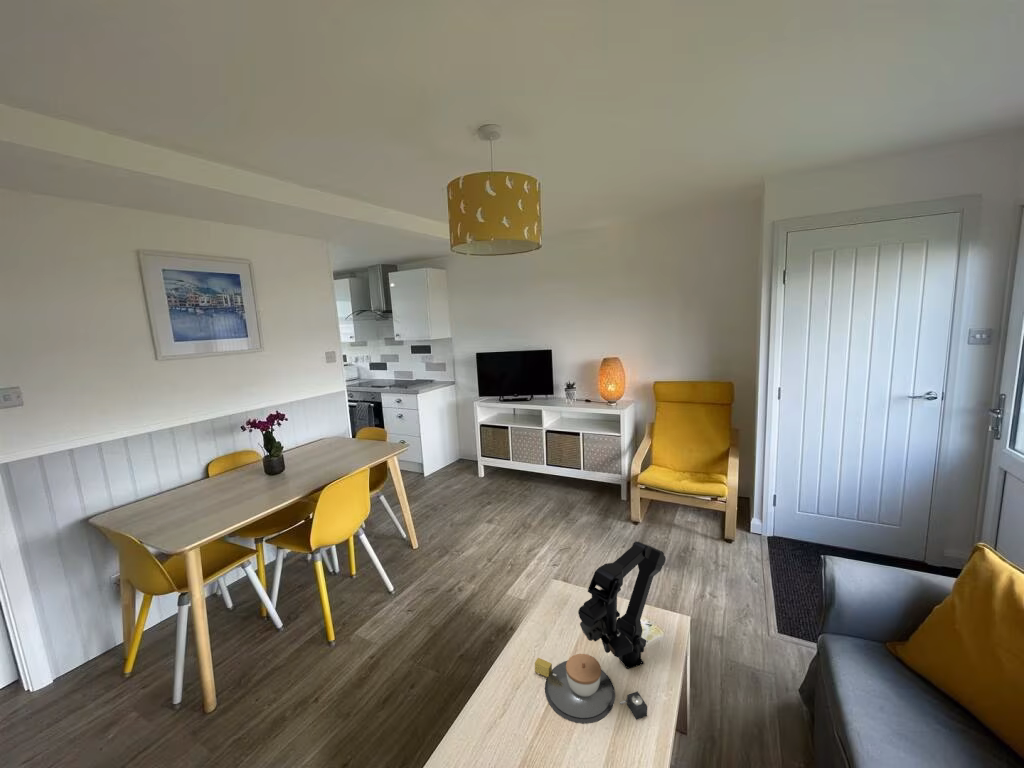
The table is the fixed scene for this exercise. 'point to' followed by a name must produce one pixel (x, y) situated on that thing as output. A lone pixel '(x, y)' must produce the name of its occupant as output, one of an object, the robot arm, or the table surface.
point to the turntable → (568, 698)
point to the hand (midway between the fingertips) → (607, 651)
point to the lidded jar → (583, 674)
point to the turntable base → (576, 718)
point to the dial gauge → (636, 705)
